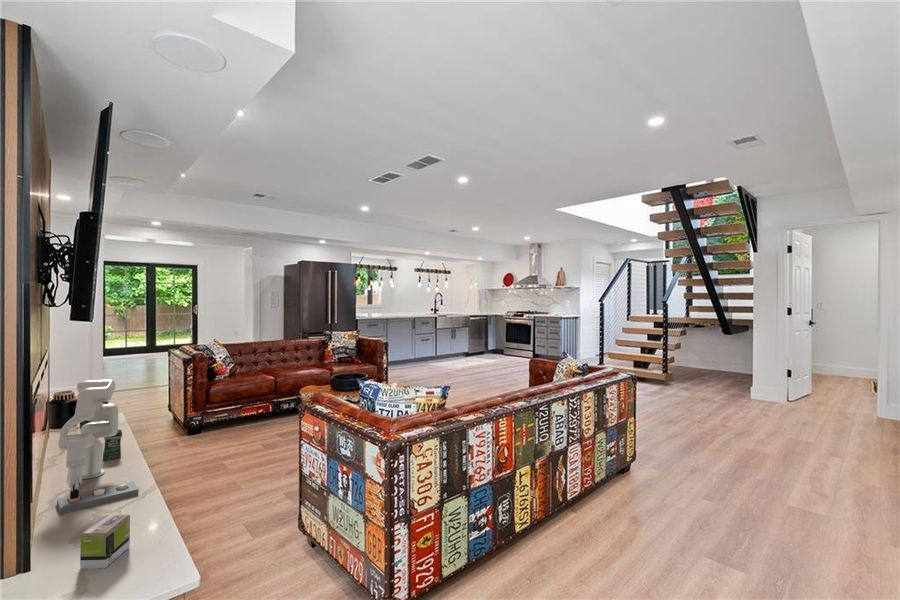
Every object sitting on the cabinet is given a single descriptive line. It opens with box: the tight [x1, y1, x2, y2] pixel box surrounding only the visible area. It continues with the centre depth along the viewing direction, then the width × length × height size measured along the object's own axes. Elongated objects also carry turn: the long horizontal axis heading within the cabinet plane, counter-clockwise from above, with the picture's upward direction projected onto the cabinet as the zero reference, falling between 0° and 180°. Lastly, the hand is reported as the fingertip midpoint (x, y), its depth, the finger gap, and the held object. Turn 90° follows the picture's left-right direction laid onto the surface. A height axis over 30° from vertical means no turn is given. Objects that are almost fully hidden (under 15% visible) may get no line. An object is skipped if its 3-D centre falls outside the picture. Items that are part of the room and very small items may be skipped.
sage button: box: [117, 483, 127, 491], centre depth 235 cm, size 4×4×3 cm
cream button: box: [94, 488, 105, 496], centre depth 228 cm, size 4×4×3 cm
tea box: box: [79, 514, 131, 570], centre depth 178 cm, size 15×10×15 cm
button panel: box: [56, 480, 139, 515], centre depth 228 cm, size 14×32×3 cm, turn 137°
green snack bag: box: [102, 429, 123, 461], centre depth 284 cm, size 10×8×19 cm
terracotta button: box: [69, 496, 80, 502], centre depth 220 cm, size 4×4×3 cm
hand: (74, 498), depth 220 cm, fingers closed
